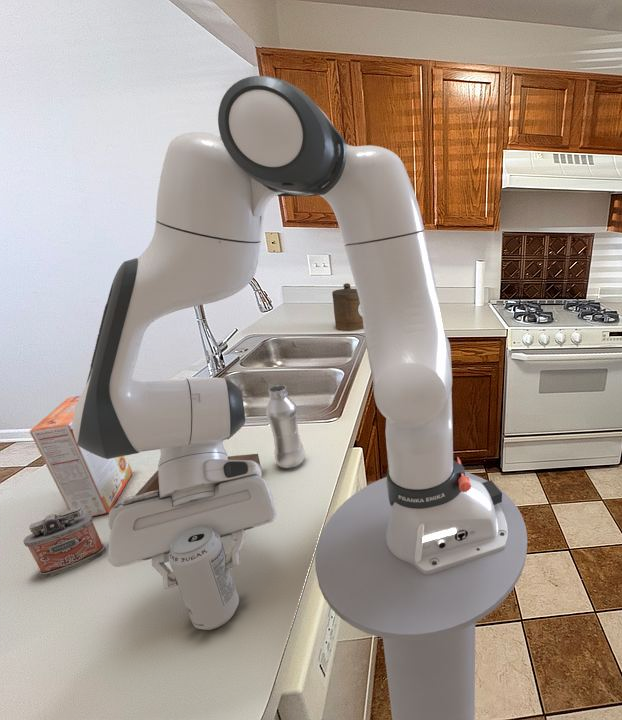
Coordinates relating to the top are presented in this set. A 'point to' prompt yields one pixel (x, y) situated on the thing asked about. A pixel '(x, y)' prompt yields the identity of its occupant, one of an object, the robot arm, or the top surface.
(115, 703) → the top surface
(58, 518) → the lighter
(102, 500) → the cracker box
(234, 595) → the energy drink can
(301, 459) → the silver metal bottle
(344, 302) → the wooden container
